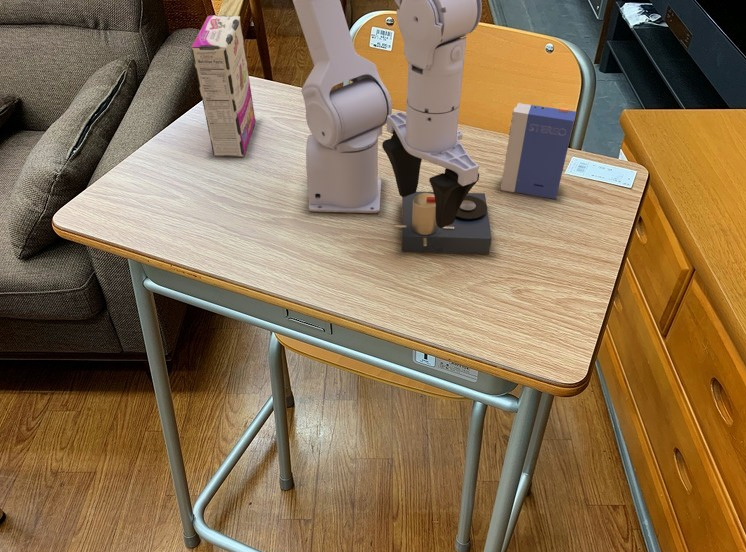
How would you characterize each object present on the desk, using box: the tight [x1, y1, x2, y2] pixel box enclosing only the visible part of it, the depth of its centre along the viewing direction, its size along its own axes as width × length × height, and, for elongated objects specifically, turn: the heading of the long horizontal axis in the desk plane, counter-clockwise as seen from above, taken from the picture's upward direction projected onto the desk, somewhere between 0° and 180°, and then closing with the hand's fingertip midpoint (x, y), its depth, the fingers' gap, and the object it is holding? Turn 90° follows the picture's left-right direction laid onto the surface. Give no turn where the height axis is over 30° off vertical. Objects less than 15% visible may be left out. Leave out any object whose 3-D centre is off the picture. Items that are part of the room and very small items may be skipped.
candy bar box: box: [190, 14, 257, 158], centre depth 96 cm, size 11×5×16 cm, turn 179°
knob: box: [412, 193, 438, 235], centre depth 81 cm, size 3×3×4 cm
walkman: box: [500, 102, 577, 200], centre depth 89 cm, size 8×3×12 cm, turn 73°
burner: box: [455, 195, 488, 221], centre depth 85 cm, size 5×5×1 cm
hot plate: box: [394, 191, 492, 255], centre depth 85 cm, size 12×12×3 cm
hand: (425, 208), depth 80 cm, fingers open, 7 cm apart
